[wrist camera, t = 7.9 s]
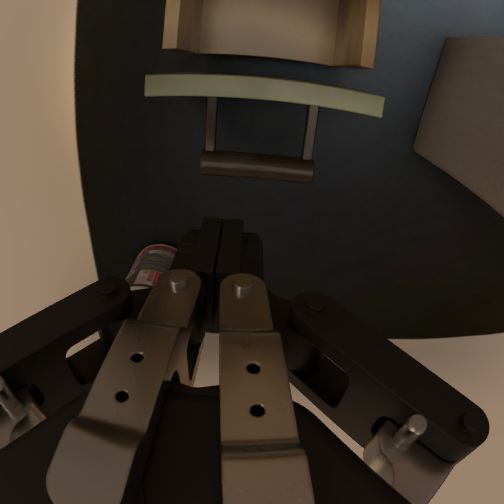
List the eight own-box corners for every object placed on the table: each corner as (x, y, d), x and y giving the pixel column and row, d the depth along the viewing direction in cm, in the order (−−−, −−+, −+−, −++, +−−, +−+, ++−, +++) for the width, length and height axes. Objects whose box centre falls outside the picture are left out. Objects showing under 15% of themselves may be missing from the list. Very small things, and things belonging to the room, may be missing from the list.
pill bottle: (136, 237, 30) (96, 306, 21) (193, 245, 30) (171, 320, 22) (138, 285, 33) (108, 356, 24) (191, 293, 33) (173, 369, 25)
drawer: (335, 166, 25) (364, 206, 18) (176, 152, 24) (145, 188, 18) (359, -50, 15) (398, -86, 8) (192, -67, 14) (168, -111, 8)
